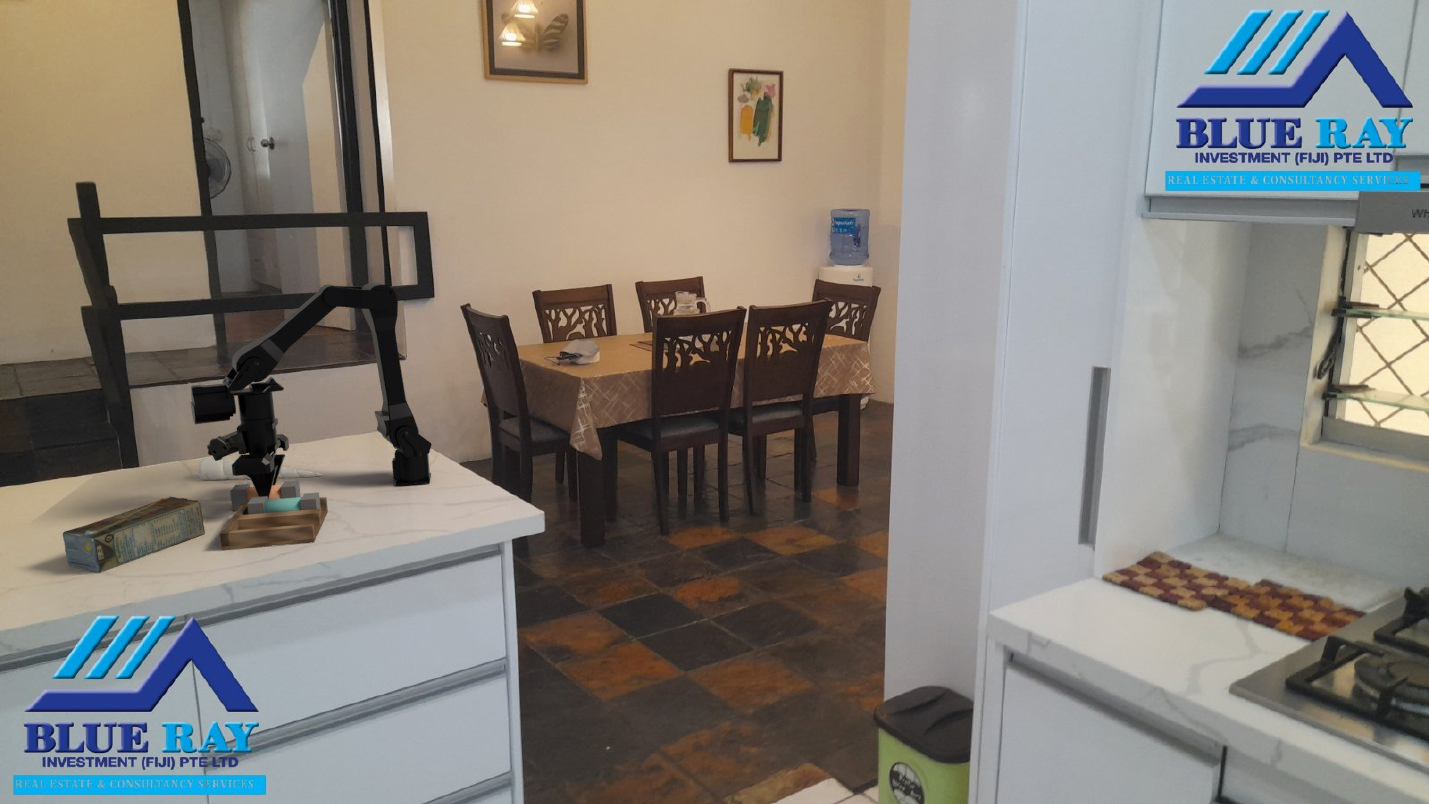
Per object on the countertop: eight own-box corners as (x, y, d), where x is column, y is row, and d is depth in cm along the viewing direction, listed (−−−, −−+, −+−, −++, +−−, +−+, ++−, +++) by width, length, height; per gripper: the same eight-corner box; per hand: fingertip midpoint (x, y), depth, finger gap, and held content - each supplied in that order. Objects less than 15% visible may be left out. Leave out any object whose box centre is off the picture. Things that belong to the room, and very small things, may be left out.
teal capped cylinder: (321, 512, 172) (319, 492, 171) (317, 519, 168) (315, 498, 167) (254, 518, 169) (252, 497, 168) (249, 525, 165) (247, 504, 165)
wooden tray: (327, 511, 174) (326, 497, 173) (314, 542, 159) (312, 526, 158) (244, 518, 171) (242, 503, 170) (221, 550, 155) (219, 533, 155)
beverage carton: (64, 567, 149) (58, 527, 148) (176, 529, 166) (171, 492, 165) (98, 575, 146) (92, 534, 145) (208, 535, 163) (204, 498, 162)
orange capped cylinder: (300, 499, 181) (298, 480, 180) (297, 505, 177) (295, 486, 176) (237, 504, 178) (235, 484, 177) (232, 510, 175) (230, 490, 174)
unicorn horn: (314, 482, 192) (311, 459, 191) (197, 483, 193) (194, 460, 192) (324, 476, 197) (321, 453, 196) (210, 476, 198) (207, 454, 197)
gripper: (222, 408, 181) (231, 487, 185) (194, 431, 163) (205, 518, 167) (285, 405, 184) (293, 483, 187) (265, 427, 166) (274, 513, 169)
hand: (266, 498), depth 178 cm, fingers closed on orange capped cylinder, 3 cm apart
